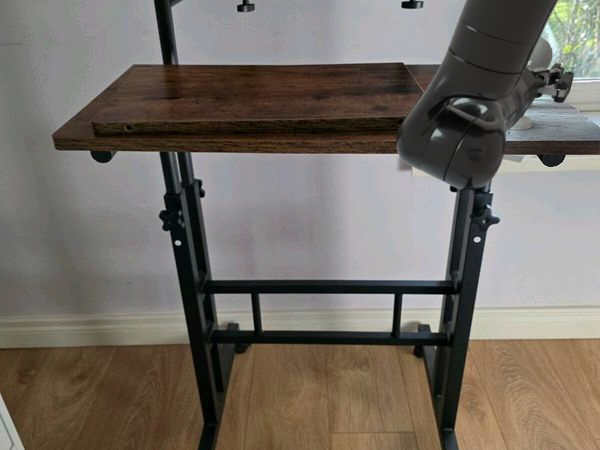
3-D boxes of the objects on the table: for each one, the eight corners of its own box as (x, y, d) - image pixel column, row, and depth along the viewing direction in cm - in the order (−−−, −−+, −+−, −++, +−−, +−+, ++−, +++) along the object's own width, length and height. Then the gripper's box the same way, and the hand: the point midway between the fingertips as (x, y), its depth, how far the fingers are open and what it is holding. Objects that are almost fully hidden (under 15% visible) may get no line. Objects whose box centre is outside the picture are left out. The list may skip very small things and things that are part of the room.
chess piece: (516, 132, 77) (530, 62, 72) (489, 122, 80) (501, 54, 75) (538, 125, 79) (554, 56, 74) (511, 115, 83) (524, 49, 77)
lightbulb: (516, 98, 89) (529, 30, 84) (548, 108, 85) (565, 36, 79) (492, 105, 87) (504, 35, 81) (524, 116, 82) (540, 43, 76)
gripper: (566, 76, 60) (589, 45, 72) (443, 60, 67) (482, 34, 78) (550, 139, 64) (575, 100, 76) (436, 117, 71) (474, 84, 82)
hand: (528, 66), depth 77 cm, fingers open, 7 cm apart
